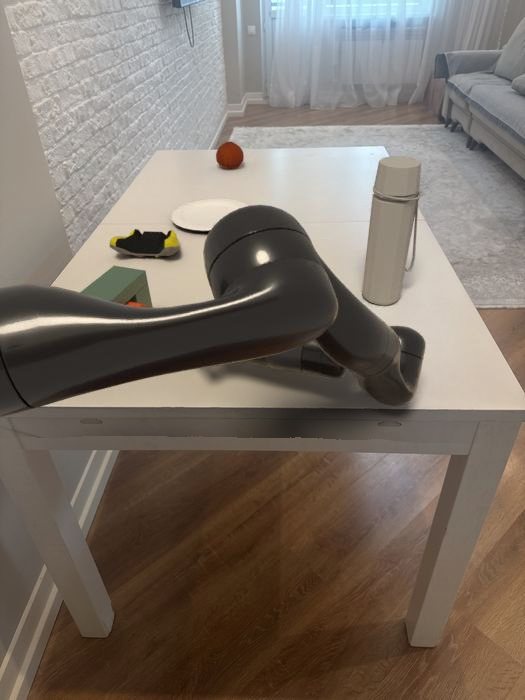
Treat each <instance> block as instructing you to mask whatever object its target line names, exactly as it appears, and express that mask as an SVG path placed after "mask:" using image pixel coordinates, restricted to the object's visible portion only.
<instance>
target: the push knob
mask: <svg viewBox="0 0 525 700" xmlns="http://www.w3.org/2000/svg"><path fill="white" fill-rule="evenodd" d="M125 305H129V306H137V307H147V306H146V305H145V304H141V303H136V302H130V301H128V302H127V303H125Z"/></svg>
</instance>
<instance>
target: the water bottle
mask: <svg viewBox="0 0 525 700" xmlns="http://www.w3.org/2000/svg"><path fill="white" fill-rule="evenodd" d="M421 170H422V162H421V160H419V159H417V158H415V157H412V156H404V155H390V156H385V157H382V158H381V159H379V160H378V164H377V169H376V174H375V179H374V183H373V186H372V192H373V194H372V198H371V207H370V216H369V223H368V224H369V225H368V233H367V243H366V252H365V253H366V254H365V262H364V269H363V281H362V289H361V292H362V296H363V298H364V299H365V300H366V301H367V302H369V303H371V304H374V305H377V306H388V305H392V304H395V303H396V302H397V301H399V299H400V298H401V296H402V291H403V284H404V278H405V272H406V273H409V272H412V269H413V267H414V265H415V260H416V249H417V248H416V245H417V230H418V215H419V213H418V212H419V200H420V199H421V198H422V197H423V191H422V190H421V189H420V186H421V173H422V171H421ZM412 233H413V243H412V246H413V247H412V257H411V261H410V265H409V267H408V268H406V266H407V260H408V255H409V251H410V250H409V249H410V244H411V238H412Z"/></svg>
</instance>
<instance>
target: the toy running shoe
mask: <svg viewBox="0 0 525 700" xmlns="http://www.w3.org/2000/svg"><path fill="white" fill-rule="evenodd" d="M109 248H111V249H112V250H113V251H115V252H117V253H119V254H122V255H126V256H135V257H136V258H139V259H141V258H145V257H154V258H159V257H164V256H165V257H171V256H173V255H175V254H176V253H177V252H179V251H180V243H179V238H178V236H177V233H176V231H175V230H174V229H170V230H168V231H167V233H164V232H163V231H149V230H147V231H146V230H145V231H144V230H143V232H141V231H140V229H139V228H134V229H132V230H131V232H130V233H129V234H128V236H122V235H117V236H113V237H112V238H110V240H109Z"/></svg>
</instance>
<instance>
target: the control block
mask: <svg viewBox="0 0 525 700" xmlns="http://www.w3.org/2000/svg"><path fill="white" fill-rule="evenodd" d="M79 293H83V294H87V295H90V296H94V297H98V298H101V299H105V300H109V301H112V302H116V303H121V304H125V303H127V302H128V301H130V302H136V303H141V304H145V305H146V306H147V308H154V307H153V302H152V297H151V292H150V286H149V282H148V276H147V271H146V270H145V269H138V268H131V267H126V266H120V265H112V266H111V267H110V268H109V269H107V270H106V271H105V272H104V273H102V274H101V275H100V276H98V278H96V279H95V280H93V281H92V282H91V283H90V284H88V285H87V286H86V287H84V288H83V289H82V290H80V292H79Z"/></svg>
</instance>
